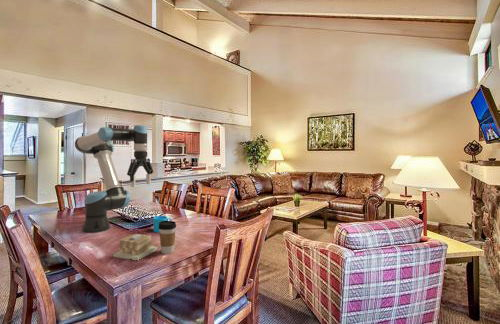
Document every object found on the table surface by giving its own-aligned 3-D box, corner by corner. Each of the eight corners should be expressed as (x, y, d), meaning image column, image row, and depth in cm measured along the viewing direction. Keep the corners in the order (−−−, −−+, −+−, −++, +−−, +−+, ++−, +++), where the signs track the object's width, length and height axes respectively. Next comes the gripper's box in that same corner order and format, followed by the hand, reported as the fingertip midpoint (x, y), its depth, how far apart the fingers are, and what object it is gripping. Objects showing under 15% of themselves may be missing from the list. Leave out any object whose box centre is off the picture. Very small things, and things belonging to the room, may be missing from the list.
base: (113, 256, 122) (113, 239, 122) (134, 246, 136) (134, 230, 135) (137, 260, 118) (137, 242, 118) (157, 249, 132) (157, 233, 131)
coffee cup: (161, 248, 133) (160, 219, 132) (177, 248, 134) (177, 219, 133) (156, 255, 125) (156, 224, 124) (174, 254, 125) (174, 224, 125)
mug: (156, 233, 157) (156, 220, 157) (151, 230, 163) (151, 217, 163) (175, 229, 165) (175, 216, 165) (169, 226, 171) (169, 214, 171)
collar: (151, 247, 130) (151, 235, 130) (137, 255, 121) (137, 242, 120) (134, 245, 133) (134, 233, 133) (120, 252, 124) (119, 240, 123)
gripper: (130, 151, 144) (131, 188, 145) (158, 150, 168) (159, 183, 169) (119, 150, 146) (120, 188, 147) (149, 150, 170) (149, 182, 171)
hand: (141, 185), depth 158 cm, fingers open, 13 cm apart
